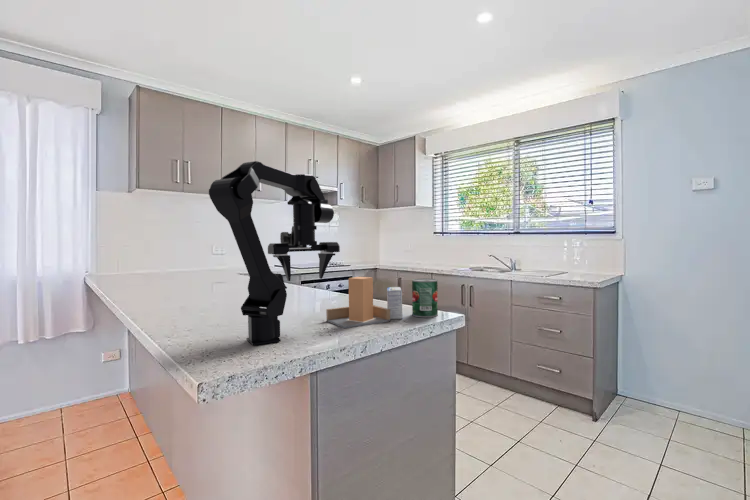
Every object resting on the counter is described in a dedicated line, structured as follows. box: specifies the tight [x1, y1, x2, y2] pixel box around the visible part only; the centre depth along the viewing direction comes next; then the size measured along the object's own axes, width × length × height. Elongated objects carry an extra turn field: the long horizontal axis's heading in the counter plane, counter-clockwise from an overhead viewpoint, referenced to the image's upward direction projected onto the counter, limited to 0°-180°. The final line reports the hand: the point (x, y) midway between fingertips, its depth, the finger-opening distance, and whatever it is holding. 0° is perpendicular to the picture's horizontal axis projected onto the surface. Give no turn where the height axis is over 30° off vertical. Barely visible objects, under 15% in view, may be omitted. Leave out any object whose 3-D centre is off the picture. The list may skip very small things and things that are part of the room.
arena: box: [325, 304, 391, 329], centre depth 116 cm, size 15×11×4 cm
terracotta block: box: [348, 276, 374, 322], centre depth 116 cm, size 5×5×12 cm
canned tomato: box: [411, 278, 439, 318], centre depth 124 cm, size 8×8×11 cm
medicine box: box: [386, 286, 403, 320], centre depth 123 cm, size 8×4×9 cm, turn 179°
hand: (305, 279), depth 109 cm, fingers open, 9 cm apart
